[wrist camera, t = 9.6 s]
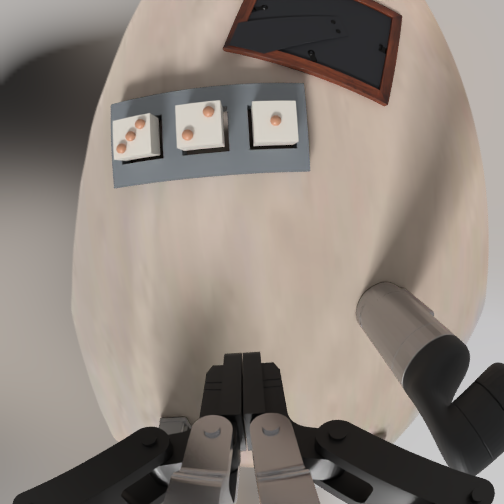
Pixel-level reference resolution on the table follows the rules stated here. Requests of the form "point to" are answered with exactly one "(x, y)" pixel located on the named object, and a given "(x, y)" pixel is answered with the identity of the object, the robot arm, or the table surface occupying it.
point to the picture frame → (323, 40)
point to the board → (240, 155)
